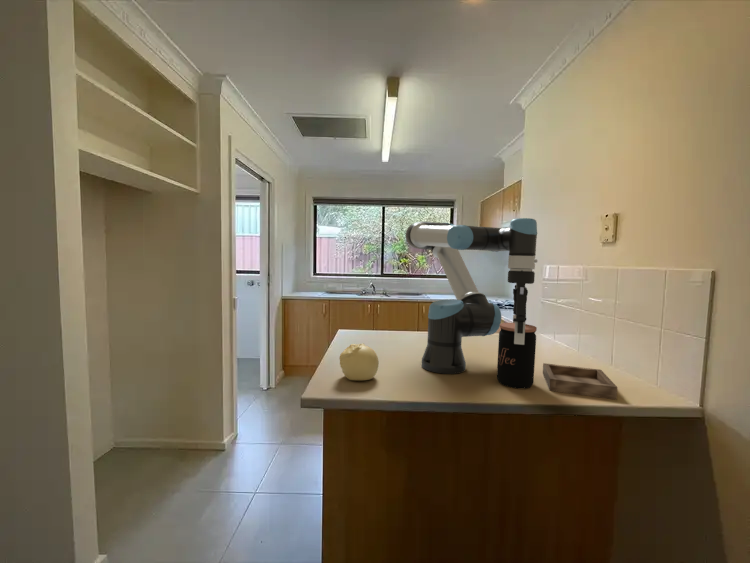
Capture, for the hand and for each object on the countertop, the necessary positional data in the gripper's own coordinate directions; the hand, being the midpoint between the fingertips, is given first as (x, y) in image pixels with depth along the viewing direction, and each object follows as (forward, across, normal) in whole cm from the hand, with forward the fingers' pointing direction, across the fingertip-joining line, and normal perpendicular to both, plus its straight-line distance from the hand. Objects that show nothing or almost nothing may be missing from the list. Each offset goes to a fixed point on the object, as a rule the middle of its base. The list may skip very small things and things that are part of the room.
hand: (517, 339), depth 110 cm
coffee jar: (+14, 0, 0) cm, 14 cm away
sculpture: (+14, -15, +46) cm, 51 cm away
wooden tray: (+14, +6, -18) cm, 23 cm away
